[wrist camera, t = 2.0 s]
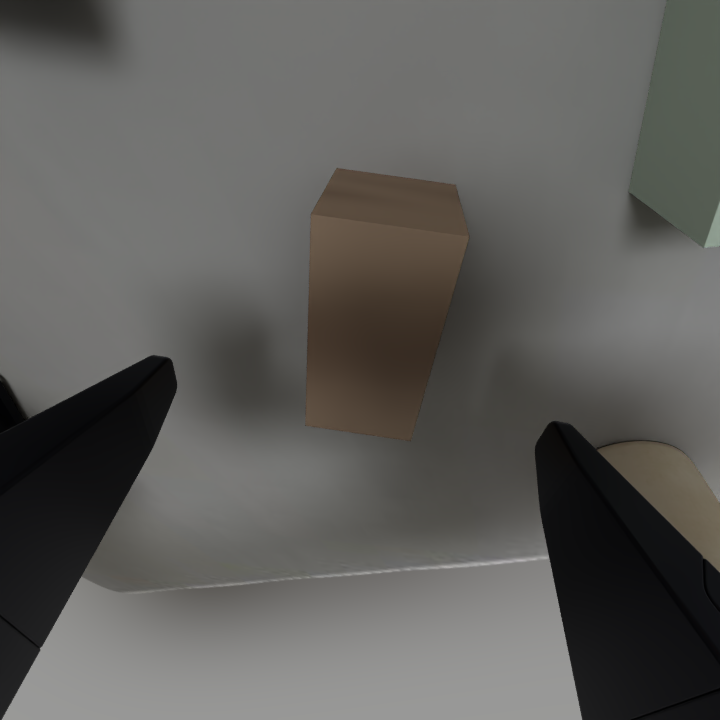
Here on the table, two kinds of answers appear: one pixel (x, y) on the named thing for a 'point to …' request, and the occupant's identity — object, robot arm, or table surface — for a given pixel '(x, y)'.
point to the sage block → (684, 123)
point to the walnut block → (378, 298)
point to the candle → (671, 490)
